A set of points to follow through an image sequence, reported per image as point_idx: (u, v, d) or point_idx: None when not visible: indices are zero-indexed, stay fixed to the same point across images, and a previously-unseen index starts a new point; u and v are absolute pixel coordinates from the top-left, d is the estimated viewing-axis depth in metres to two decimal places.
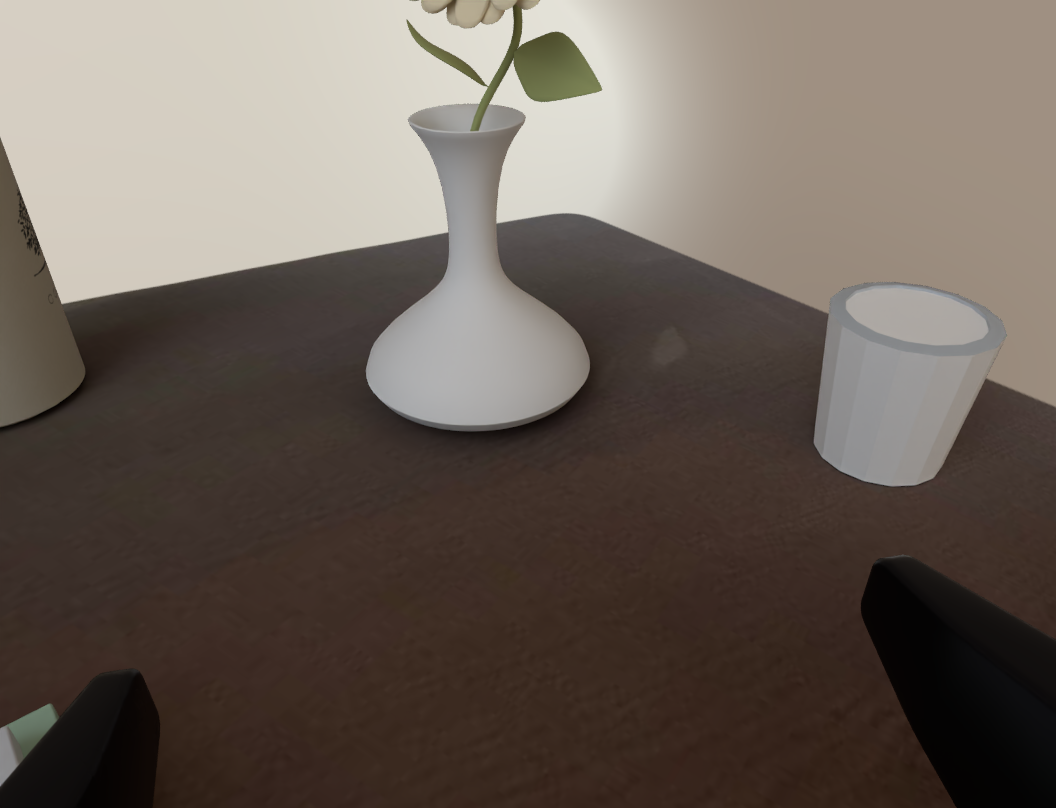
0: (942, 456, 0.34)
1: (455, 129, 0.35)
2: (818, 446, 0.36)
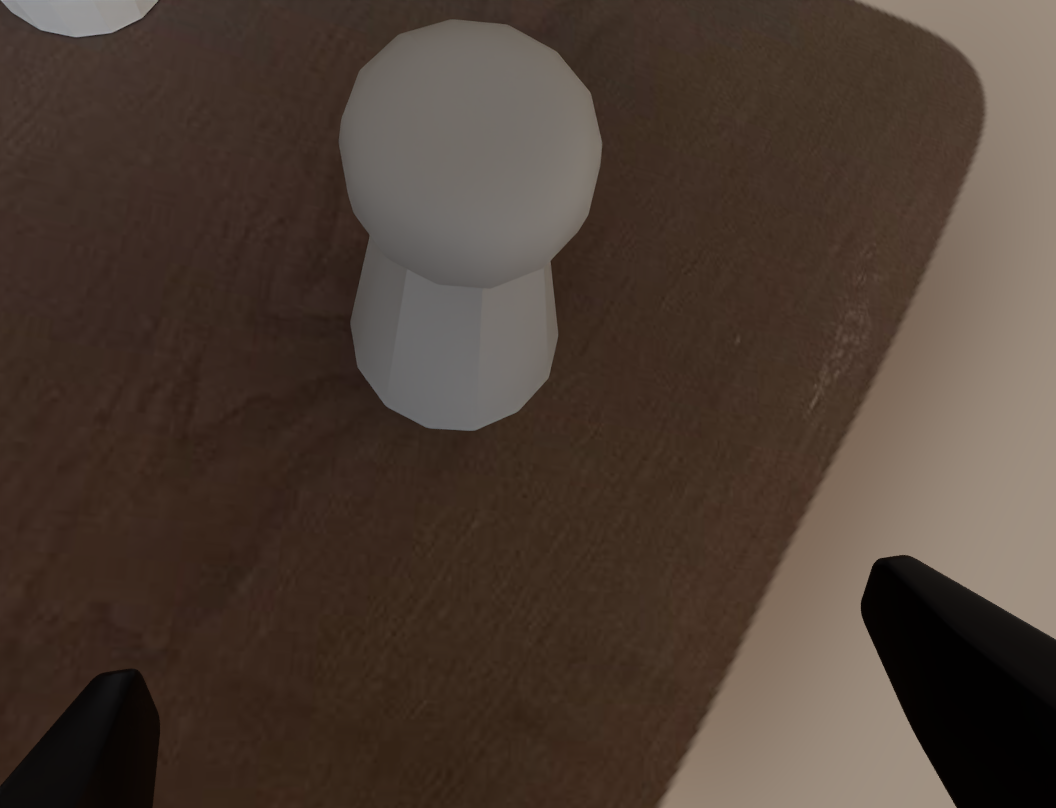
0: None
1: None
2: None
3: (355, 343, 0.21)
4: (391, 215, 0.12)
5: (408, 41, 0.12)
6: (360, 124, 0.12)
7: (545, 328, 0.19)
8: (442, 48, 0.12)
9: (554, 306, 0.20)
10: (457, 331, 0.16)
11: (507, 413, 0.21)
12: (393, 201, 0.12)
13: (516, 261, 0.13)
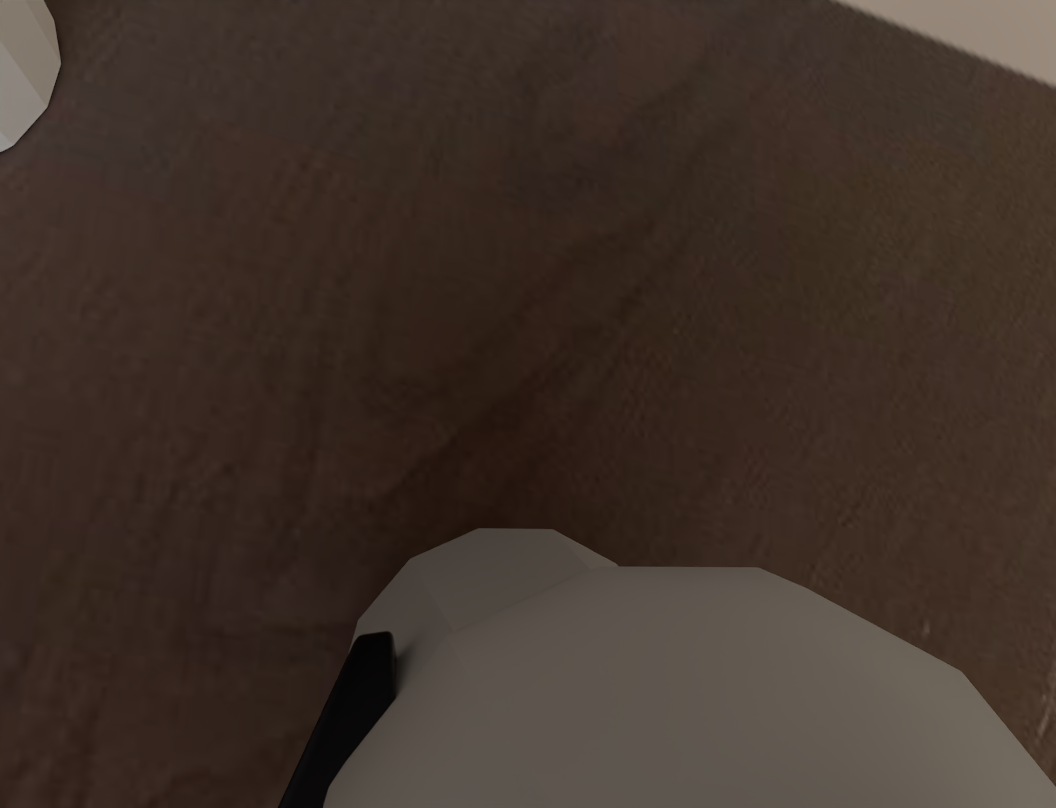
0: (18, 75, 0.16)
1: None
2: None
3: None
4: None
5: (510, 774, 0.03)
6: None
7: None
8: None
9: None
10: None
11: None
12: None
13: None
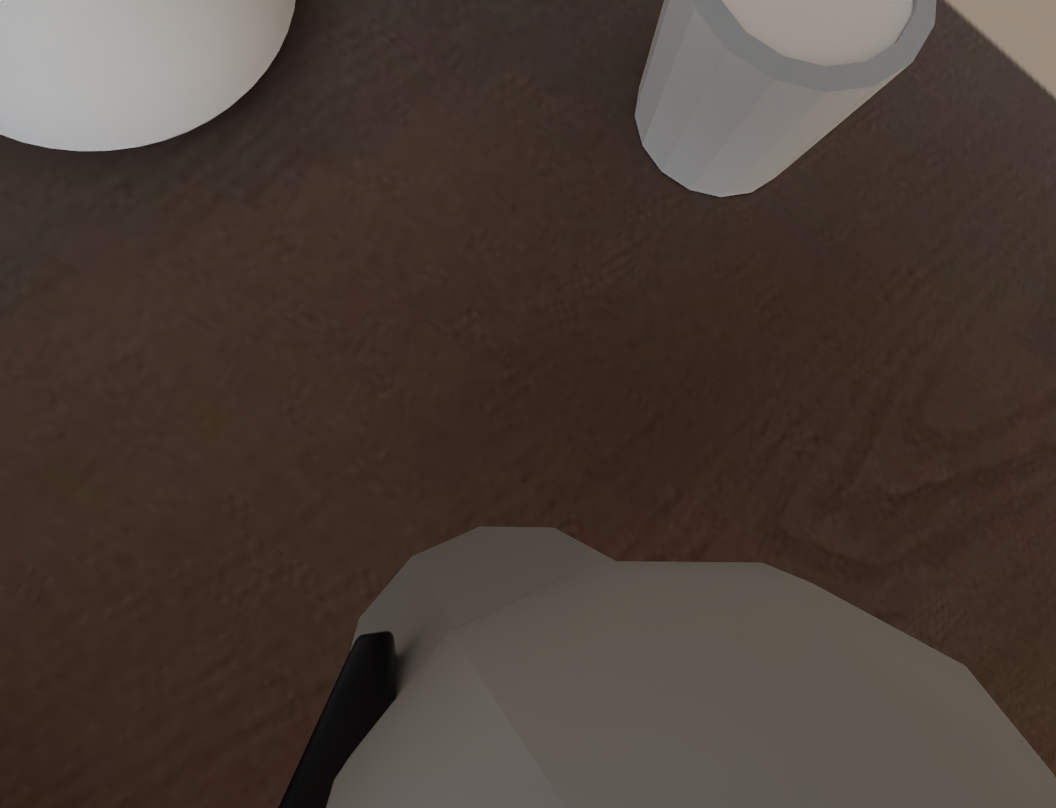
0: (794, 160, 0.25)
1: None
2: (639, 127, 0.26)
3: None
4: None
5: (517, 766, 0.03)
6: None
7: None
8: None
9: None
10: None
11: None
12: None
13: None
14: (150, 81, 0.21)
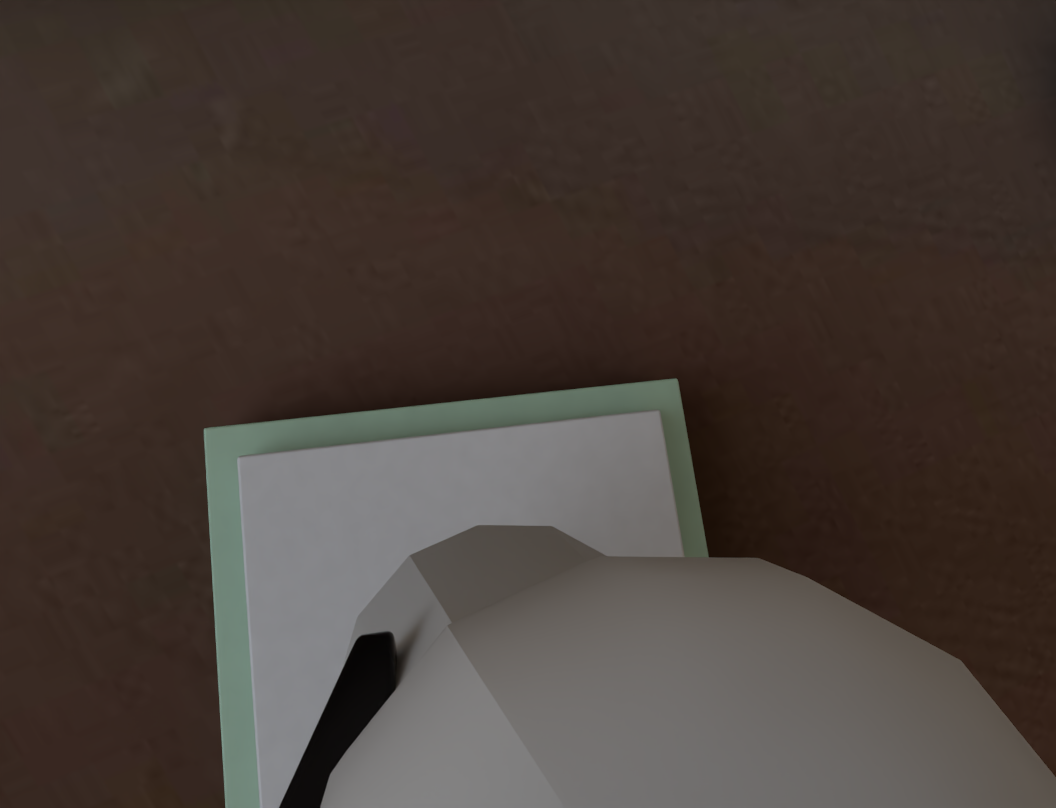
0: None
1: None
2: None
3: None
4: None
5: (511, 759, 0.03)
6: None
7: None
8: None
9: None
10: None
11: None
12: None
13: None
14: None
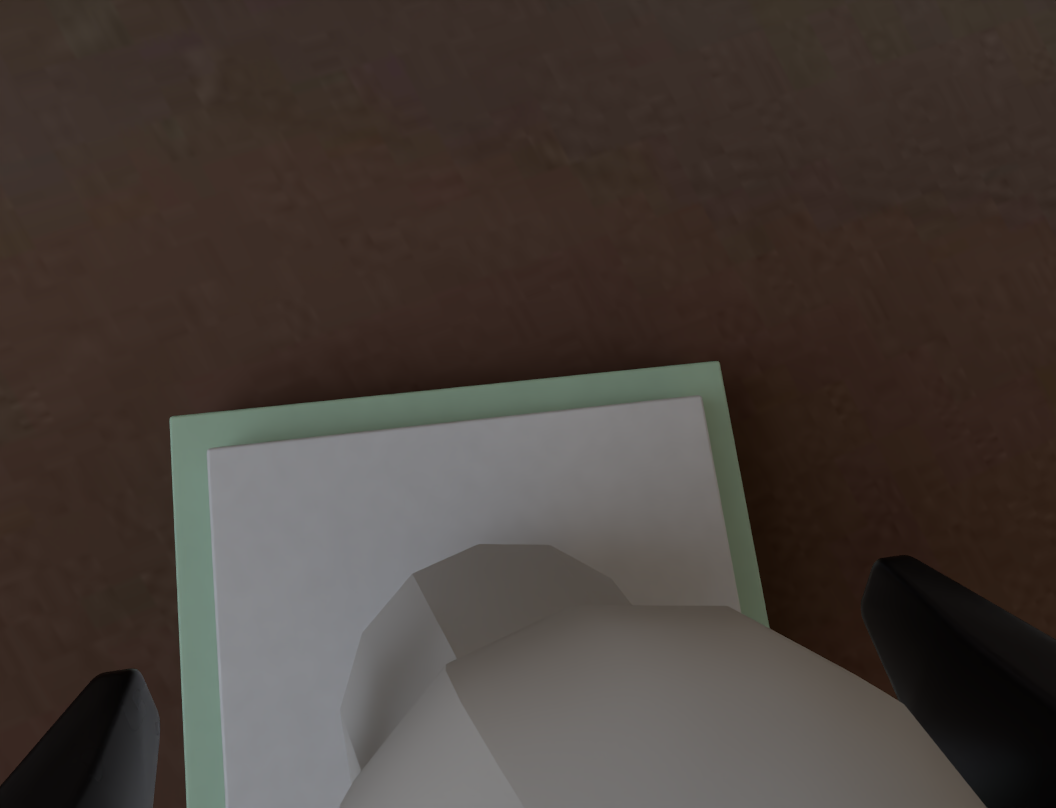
0: None
1: None
2: None
3: (348, 759, 0.13)
4: None
5: (499, 797, 0.04)
6: None
7: None
8: None
9: None
10: None
11: None
12: None
13: None
14: None
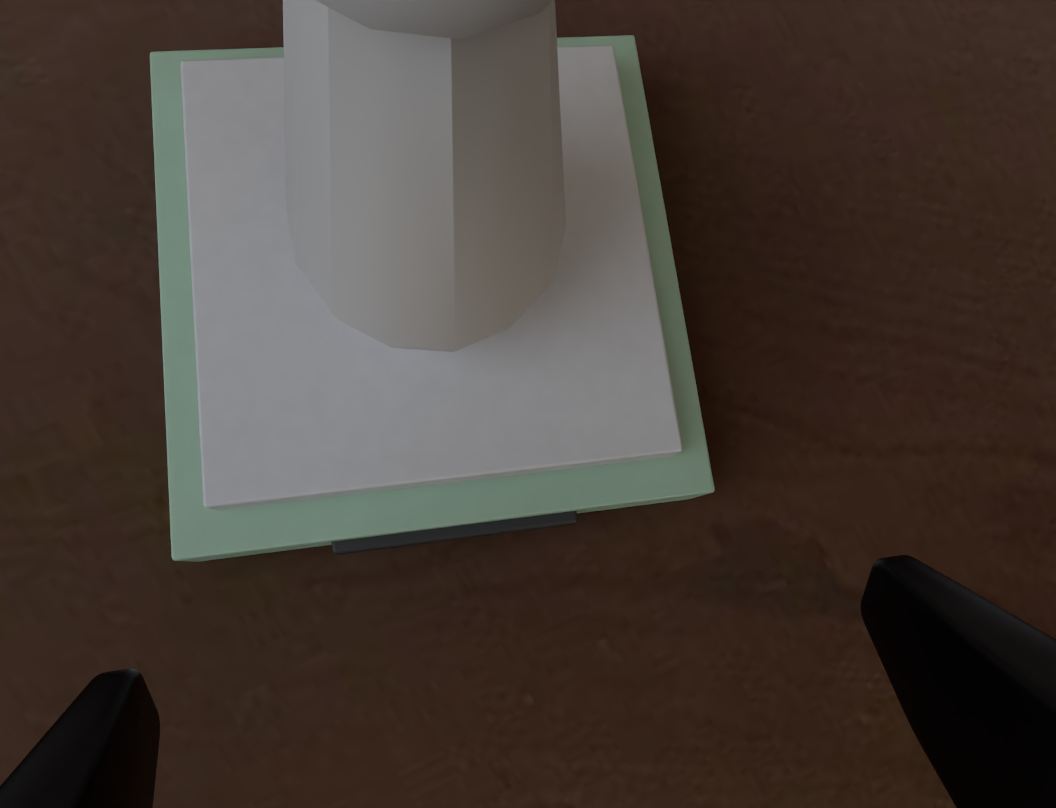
0: None
1: None
2: None
3: (291, 229, 0.16)
4: None
5: None
6: None
7: (550, 187, 0.13)
8: None
9: (562, 168, 0.14)
10: (418, 166, 0.11)
11: (498, 326, 0.16)
12: None
13: None
14: None
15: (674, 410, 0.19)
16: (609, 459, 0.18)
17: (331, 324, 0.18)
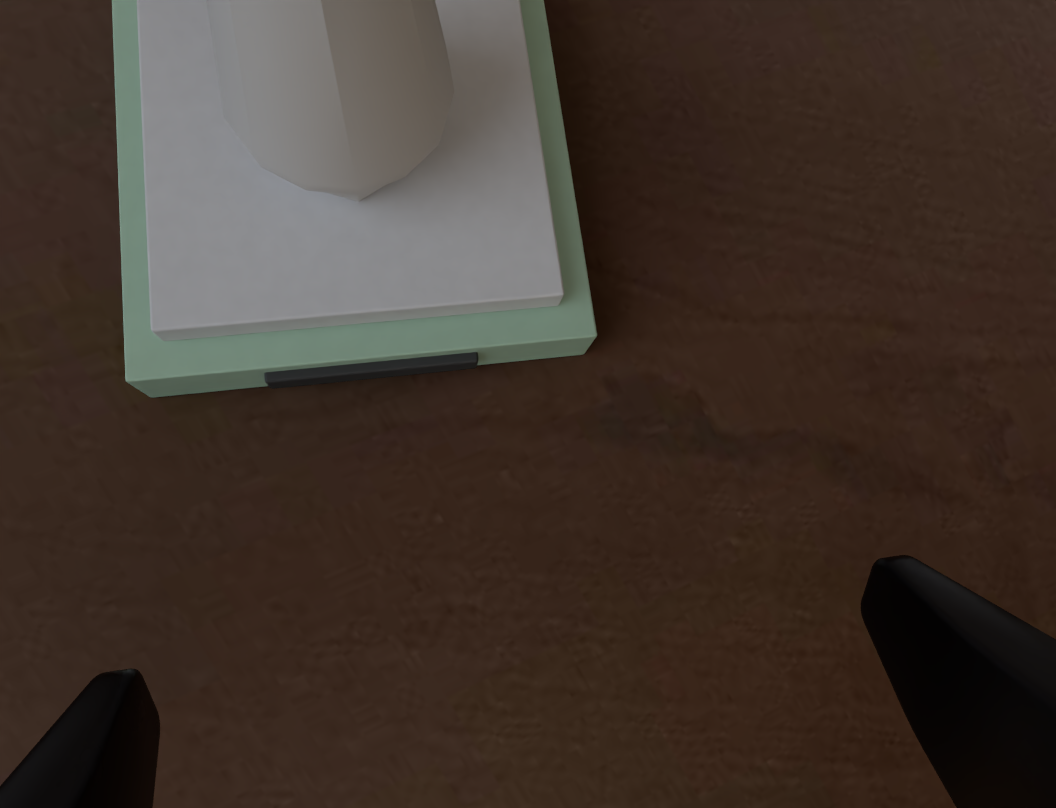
0: None
1: None
2: None
3: (219, 86, 0.19)
4: None
5: None
6: None
7: (415, 28, 0.16)
8: None
9: (435, 24, 0.18)
10: None
11: (393, 168, 0.19)
12: None
13: None
14: None
15: (558, 261, 0.22)
16: (500, 300, 0.22)
17: (262, 184, 0.21)
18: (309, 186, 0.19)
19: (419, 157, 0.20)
